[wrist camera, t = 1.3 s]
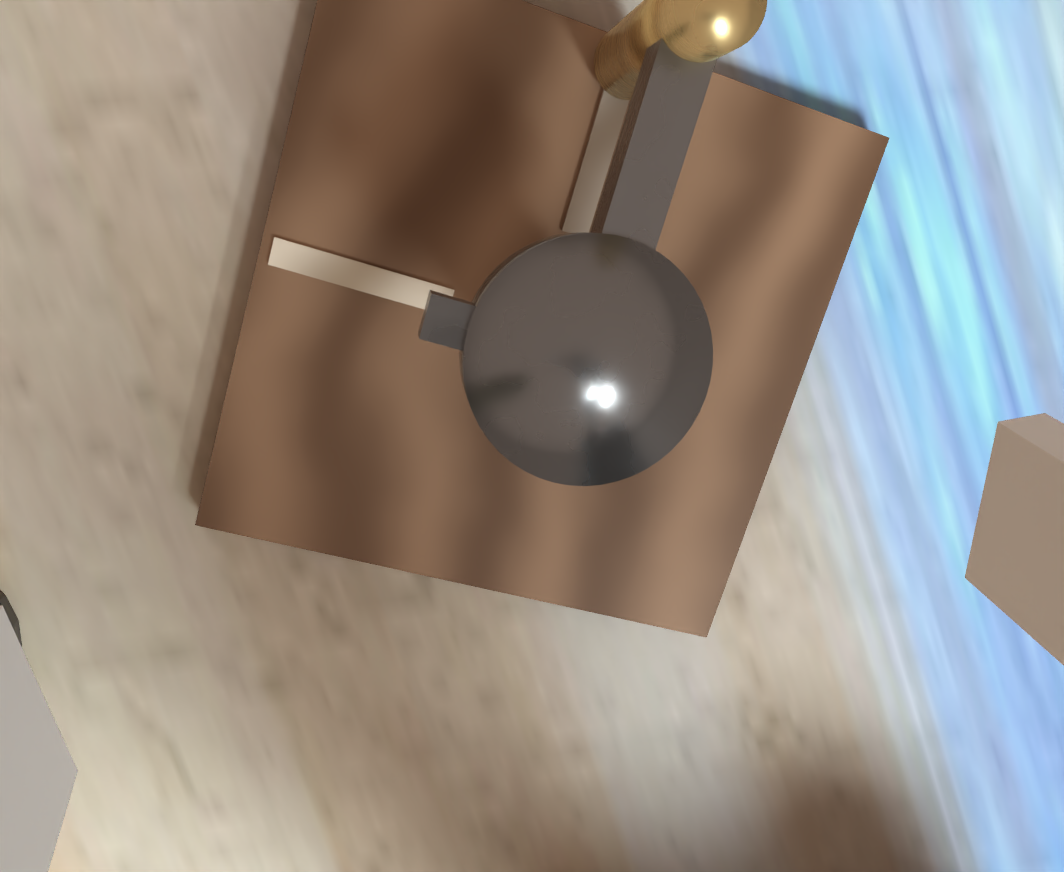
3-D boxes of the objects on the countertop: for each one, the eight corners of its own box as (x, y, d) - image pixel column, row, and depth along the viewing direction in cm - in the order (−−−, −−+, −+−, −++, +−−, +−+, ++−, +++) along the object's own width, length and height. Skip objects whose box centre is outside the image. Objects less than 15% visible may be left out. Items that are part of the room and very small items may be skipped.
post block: (872, 140, 41) (997, 119, 33) (696, 624, 46) (765, 716, 38) (336, -59, 36) (317, -148, 27) (202, 514, 41) (150, 593, 32)
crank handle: (733, 63, 38) (865, 1, 27) (607, 447, 41) (680, 526, 30) (504, -24, 35) (551, -128, 25) (392, 390, 39) (390, 454, 28)
